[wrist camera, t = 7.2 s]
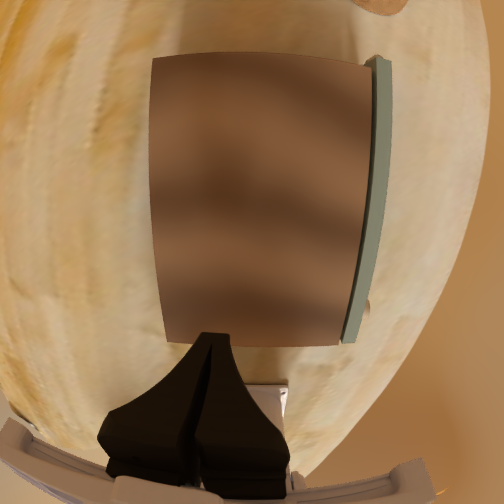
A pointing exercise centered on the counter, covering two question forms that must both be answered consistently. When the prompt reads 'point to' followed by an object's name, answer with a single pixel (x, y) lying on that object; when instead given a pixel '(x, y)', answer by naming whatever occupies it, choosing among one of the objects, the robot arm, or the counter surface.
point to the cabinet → (257, 194)
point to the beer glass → (382, 6)
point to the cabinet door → (372, 196)
